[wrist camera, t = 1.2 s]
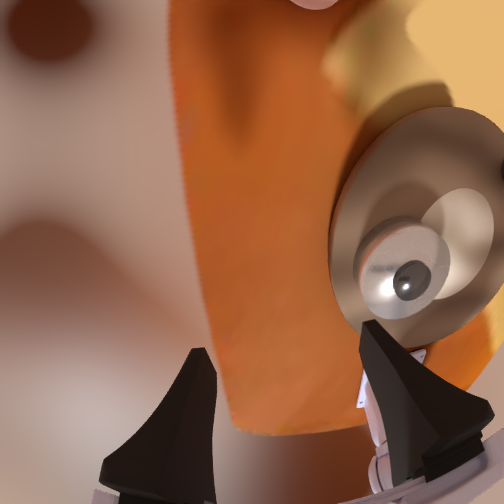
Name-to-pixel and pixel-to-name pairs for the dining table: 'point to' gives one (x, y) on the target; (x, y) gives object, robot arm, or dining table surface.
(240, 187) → the dining table surface
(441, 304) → the turntable
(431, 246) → the cover
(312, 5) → the smoothie
